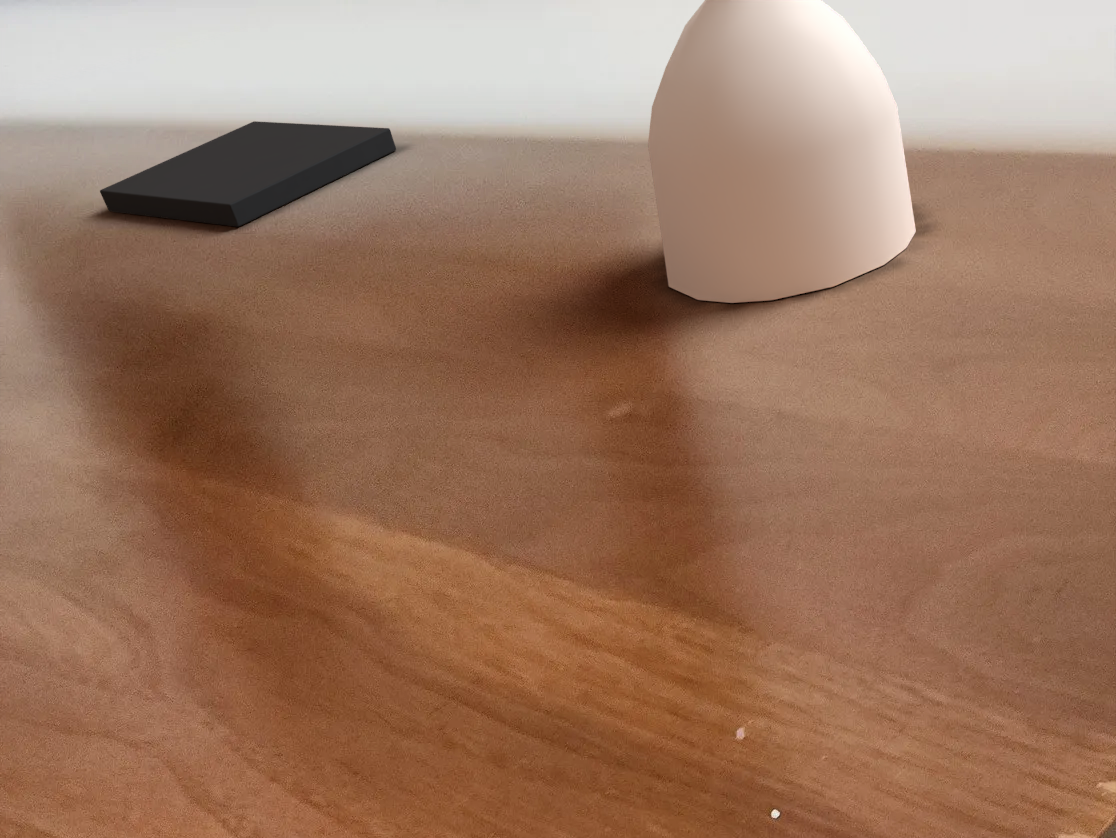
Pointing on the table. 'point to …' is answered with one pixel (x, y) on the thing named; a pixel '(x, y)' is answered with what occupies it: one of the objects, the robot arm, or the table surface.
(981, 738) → the table surface
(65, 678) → the table surface
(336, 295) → the table surface
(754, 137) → the teardrop
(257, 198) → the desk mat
